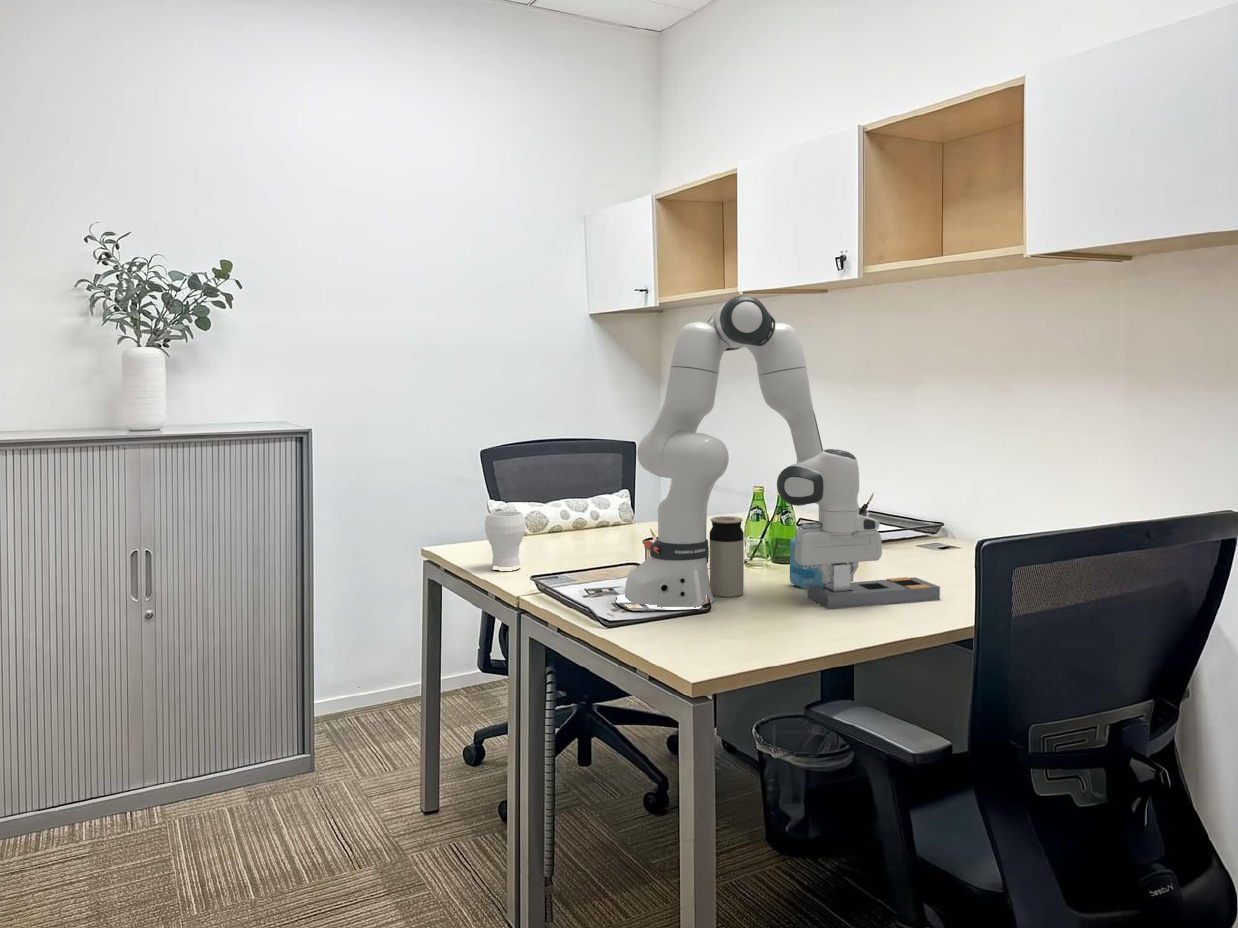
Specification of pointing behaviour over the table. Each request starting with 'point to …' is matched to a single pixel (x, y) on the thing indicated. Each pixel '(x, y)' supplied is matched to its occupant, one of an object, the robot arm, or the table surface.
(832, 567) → the steel peg
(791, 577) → the data package
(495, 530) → the cup
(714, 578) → the travel mug
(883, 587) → the hole rail
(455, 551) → the table surface
